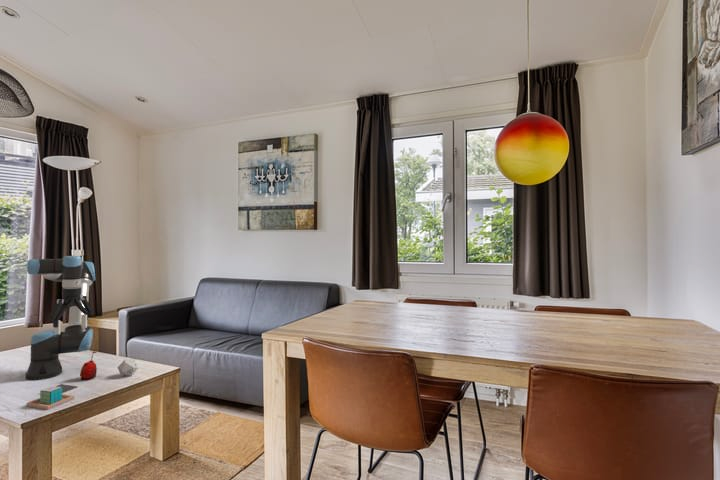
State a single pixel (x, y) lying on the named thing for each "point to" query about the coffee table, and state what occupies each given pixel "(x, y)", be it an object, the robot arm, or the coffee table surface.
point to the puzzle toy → (51, 395)
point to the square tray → (37, 404)
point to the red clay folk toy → (88, 370)
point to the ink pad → (68, 388)
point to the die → (127, 367)
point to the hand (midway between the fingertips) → (71, 330)
